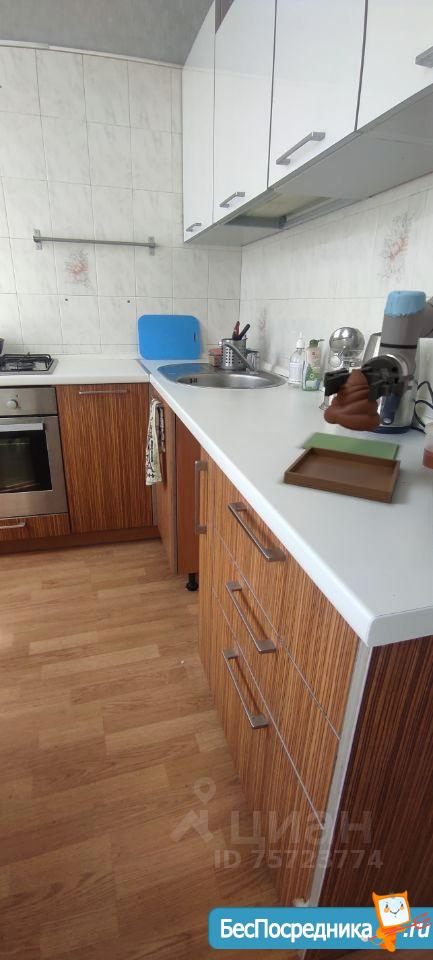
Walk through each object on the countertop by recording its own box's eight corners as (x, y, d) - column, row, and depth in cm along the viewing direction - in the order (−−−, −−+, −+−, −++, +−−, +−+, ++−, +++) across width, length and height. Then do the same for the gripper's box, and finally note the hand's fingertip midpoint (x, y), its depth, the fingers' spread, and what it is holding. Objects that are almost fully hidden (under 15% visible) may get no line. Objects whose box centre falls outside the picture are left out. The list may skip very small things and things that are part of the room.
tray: (398, 470, 87) (400, 460, 86) (389, 503, 72) (391, 492, 72) (308, 454, 93) (309, 445, 93) (283, 482, 79) (284, 472, 78)
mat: (397, 445, 102) (397, 444, 102) (391, 462, 91) (392, 461, 91) (316, 433, 109) (316, 432, 109) (302, 447, 98) (302, 446, 98)
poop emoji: (312, 421, 81) (318, 366, 78) (344, 415, 86) (352, 364, 83) (358, 435, 74) (367, 375, 70) (391, 428, 79) (401, 372, 75)
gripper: (431, 400, 89) (408, 423, 70) (333, 387, 98) (290, 405, 79) (440, 359, 86) (418, 373, 68) (338, 350, 95) (294, 360, 77)
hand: (349, 390), depth 74 cm, fingers closed on poop emoji, 6 cm apart
